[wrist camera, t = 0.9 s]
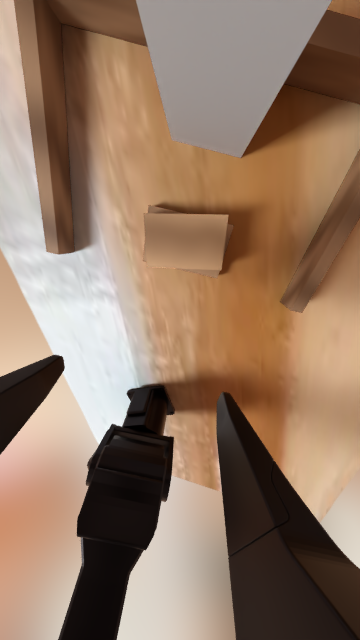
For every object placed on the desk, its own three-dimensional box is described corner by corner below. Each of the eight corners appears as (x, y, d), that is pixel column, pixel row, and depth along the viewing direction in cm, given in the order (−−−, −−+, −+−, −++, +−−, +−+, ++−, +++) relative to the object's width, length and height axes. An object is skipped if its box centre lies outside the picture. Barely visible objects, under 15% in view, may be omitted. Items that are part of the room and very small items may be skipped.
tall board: (240, 157, 15) (383, -89, 3) (171, 140, 14) (90, -177, 3) (255, 107, 13) (568, -567, 2) (179, 87, 13) (84, -745, 2)
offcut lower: (215, 274, 20) (217, 278, 18) (147, 258, 19) (142, 261, 18) (230, 226, 17) (233, 225, 16) (153, 207, 17) (148, 204, 16)
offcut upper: (219, 266, 17) (221, 270, 16) (151, 264, 18) (147, 267, 16) (225, 216, 16) (228, 214, 14) (149, 215, 16) (143, 213, 14)
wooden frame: (290, 304, 20) (304, 315, 17) (64, 249, 19) (42, 252, 17) (408, 90, 12) (468, 49, 10) (41, -11, 12) (-5, -84, 9)
